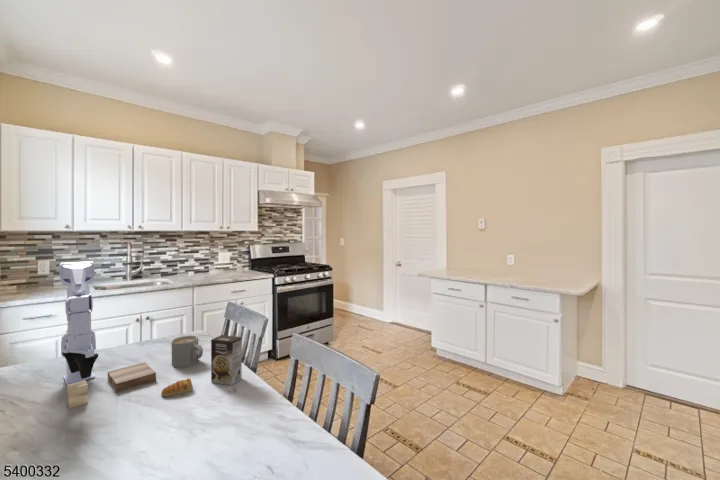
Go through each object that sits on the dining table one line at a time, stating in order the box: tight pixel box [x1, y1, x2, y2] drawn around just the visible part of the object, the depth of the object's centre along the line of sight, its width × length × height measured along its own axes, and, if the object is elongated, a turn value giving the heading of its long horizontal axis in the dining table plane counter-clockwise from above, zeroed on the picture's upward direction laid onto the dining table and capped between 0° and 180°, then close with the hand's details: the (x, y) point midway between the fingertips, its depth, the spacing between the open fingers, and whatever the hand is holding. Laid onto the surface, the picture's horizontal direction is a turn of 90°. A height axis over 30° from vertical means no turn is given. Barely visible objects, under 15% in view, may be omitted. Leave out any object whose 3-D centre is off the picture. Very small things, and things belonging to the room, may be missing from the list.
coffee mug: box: [171, 335, 204, 369], centre depth 136 cm, size 13×10×10 cm
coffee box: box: [210, 334, 243, 386], centre depth 120 cm, size 9×6×16 cm
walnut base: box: [107, 361, 157, 393], centre depth 120 cm, size 14×12×3 cm
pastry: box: [160, 377, 194, 398], centre depth 112 cm, size 9×7×4 cm
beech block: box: [66, 380, 89, 409], centre depth 104 cm, size 4×4×6 cm
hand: (80, 374), depth 104 cm, fingers open, 7 cm apart
